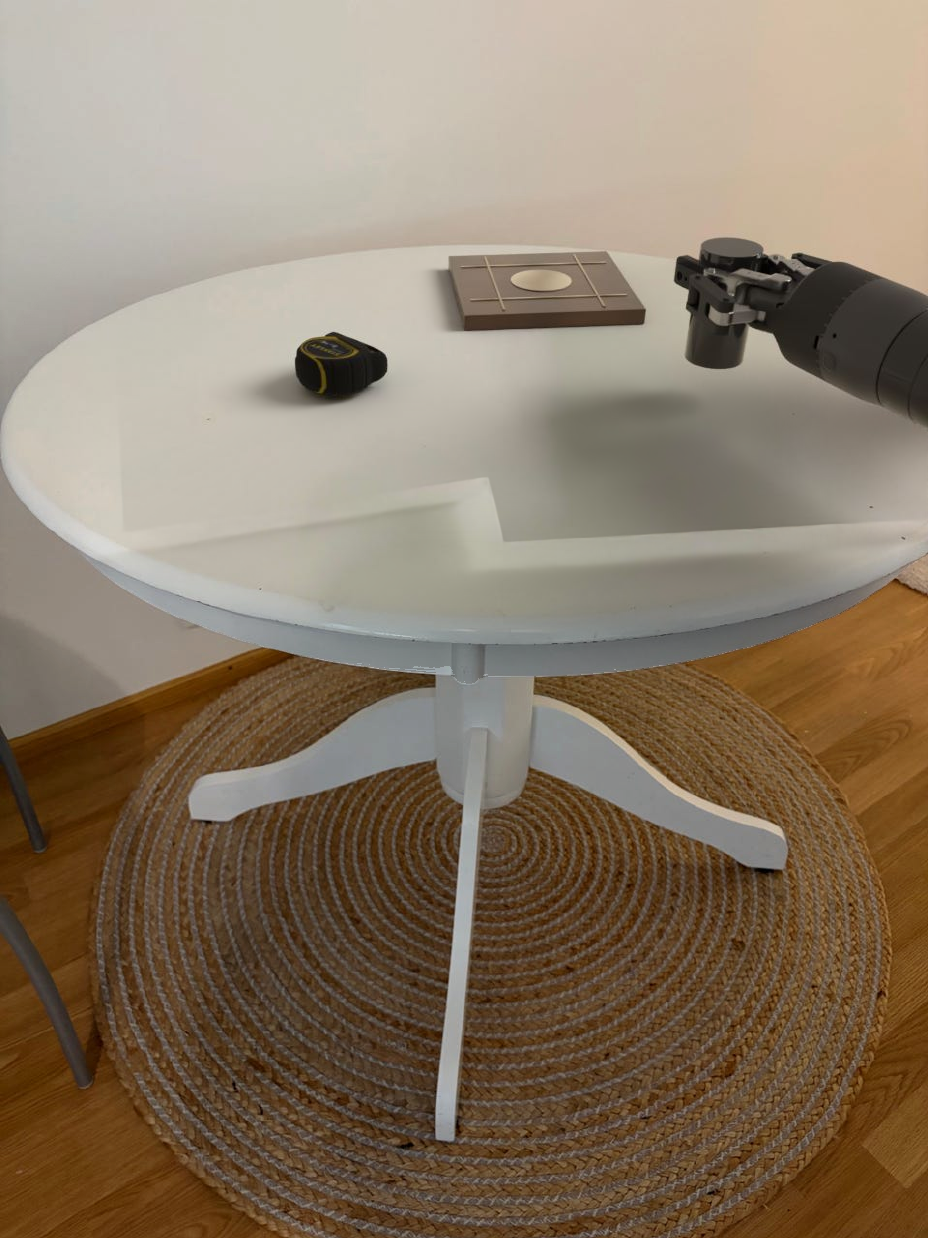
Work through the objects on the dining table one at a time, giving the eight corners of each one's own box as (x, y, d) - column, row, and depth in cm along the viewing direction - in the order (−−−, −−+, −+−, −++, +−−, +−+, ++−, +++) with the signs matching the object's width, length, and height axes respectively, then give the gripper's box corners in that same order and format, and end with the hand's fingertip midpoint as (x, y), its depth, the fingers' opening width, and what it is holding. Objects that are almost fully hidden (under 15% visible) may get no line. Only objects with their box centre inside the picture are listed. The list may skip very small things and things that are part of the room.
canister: (732, 344, 81) (751, 235, 76) (751, 367, 78) (773, 255, 72) (677, 347, 81) (692, 238, 75) (693, 370, 77) (711, 258, 72)
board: (605, 264, 109) (606, 249, 108) (644, 323, 95) (646, 308, 94) (448, 269, 107) (448, 254, 106) (464, 330, 93) (464, 314, 92)
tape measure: (392, 386, 83) (391, 345, 81) (332, 411, 79) (329, 369, 77) (341, 364, 87) (338, 324, 85) (281, 387, 83) (276, 346, 81)
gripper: (955, 262, 65) (782, 200, 77) (797, 300, 60) (637, 227, 72) (923, 366, 70) (765, 292, 82) (773, 408, 65) (627, 324, 77)
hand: (706, 262), depth 77 cm, fingers closed on canister, 4 cm apart
